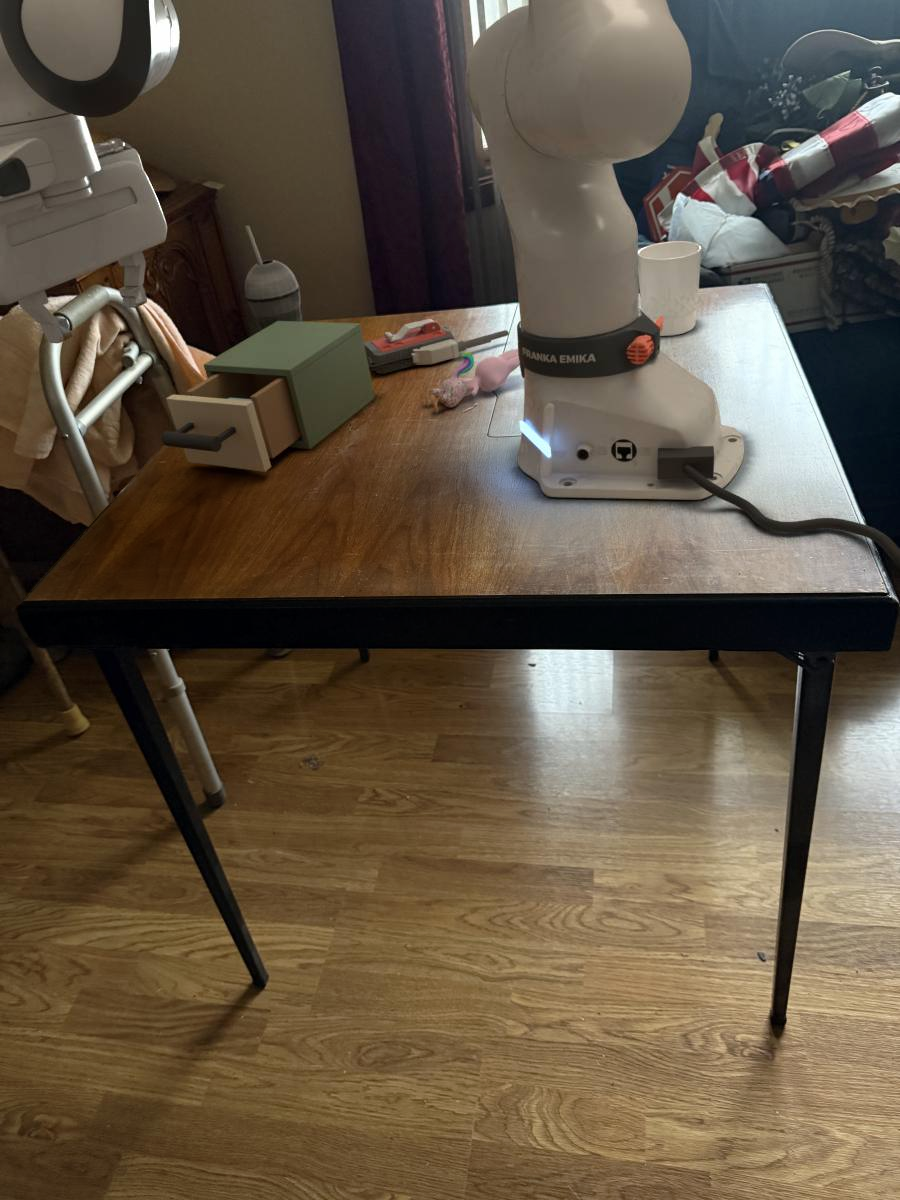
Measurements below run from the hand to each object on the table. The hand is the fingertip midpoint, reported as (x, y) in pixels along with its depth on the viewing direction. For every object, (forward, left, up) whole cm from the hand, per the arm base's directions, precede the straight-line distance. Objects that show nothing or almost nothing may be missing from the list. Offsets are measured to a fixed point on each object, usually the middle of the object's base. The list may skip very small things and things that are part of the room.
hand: (100, 322), depth 81 cm
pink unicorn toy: (-20, -35, -21) cm, 45 cm away
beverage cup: (+10, -36, -21) cm, 42 cm away
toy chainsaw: (-7, -46, -21) cm, 51 cm away
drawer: (0, -14, -20) cm, 24 cm away
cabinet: (0, -24, -21) cm, 31 cm away
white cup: (-36, -59, -21) cm, 72 cm away
